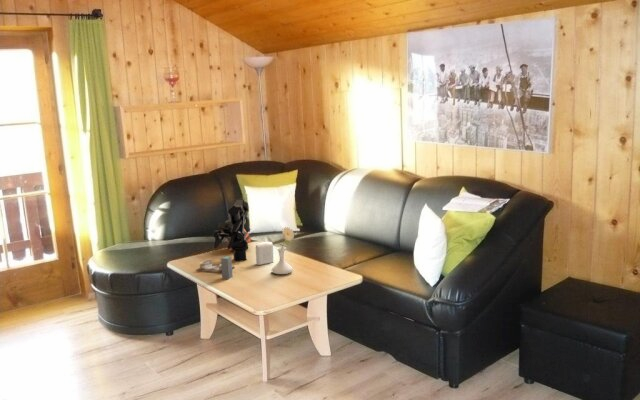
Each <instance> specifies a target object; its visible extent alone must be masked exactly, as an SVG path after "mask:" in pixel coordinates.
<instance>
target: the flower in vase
mask: <svg viewBox="0 0 640 400" xmlns="http://www.w3.org/2000/svg"><path fill="white" fill-rule="evenodd" d="M281 234H282V238H283V239H284V240H283V243H279V242H277V245H278V246H279V247H276V250H277V251H278V255H279V256H278V257H279V261H277V263H276V264H275V265H274V266H273V267H272V269H271V272H272V273H274V274H276V275H287V274H290V273H291V272H292V271H294V270H293V267H292V266H291V265H290V264H289V263H287V262H286V261H285V250H286V249H287V247H286V246H284V245H285V244H286V245H287V246H288V245H290V244H291V243H292V240H294V238H295V237H294V236H295V234H294V231H293V230H292V229H291V228H290V227H288V226H285V227H283V229H282V230H281Z"/></svg>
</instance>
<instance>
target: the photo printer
mask: <svg viewBox="0 0 640 400" xmlns="http://www.w3.org/2000/svg"><path fill="white" fill-rule="evenodd" d="M255 261H256V262H255V263H256V265H258V266H260V265H266V264H271V263H274V244H273V242H271V241H263V242H259V243H257V244H255Z"/></svg>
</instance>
